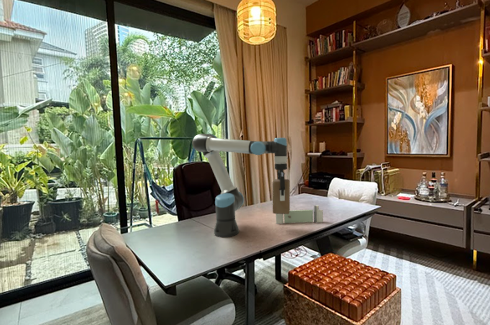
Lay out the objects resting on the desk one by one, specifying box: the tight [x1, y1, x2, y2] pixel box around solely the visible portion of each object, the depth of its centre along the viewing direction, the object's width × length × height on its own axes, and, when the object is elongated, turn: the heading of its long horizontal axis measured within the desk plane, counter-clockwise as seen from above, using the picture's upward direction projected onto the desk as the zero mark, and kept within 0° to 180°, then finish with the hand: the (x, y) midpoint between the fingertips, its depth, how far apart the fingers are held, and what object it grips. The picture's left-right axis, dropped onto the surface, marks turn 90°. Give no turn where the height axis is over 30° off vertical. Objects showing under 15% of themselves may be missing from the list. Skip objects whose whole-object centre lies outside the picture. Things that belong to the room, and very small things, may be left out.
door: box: [283, 209, 314, 224], centre depth 175 cm, size 19×3×8 cm, turn 89°
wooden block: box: [271, 178, 291, 215], centre depth 163 cm, size 10×10×20 cm
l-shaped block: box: [275, 205, 324, 225], centre depth 176 cm, size 31×2×11 cm, turn 89°
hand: (281, 198), depth 163 cm, fingers closed on wooden block, 11 cm apart
